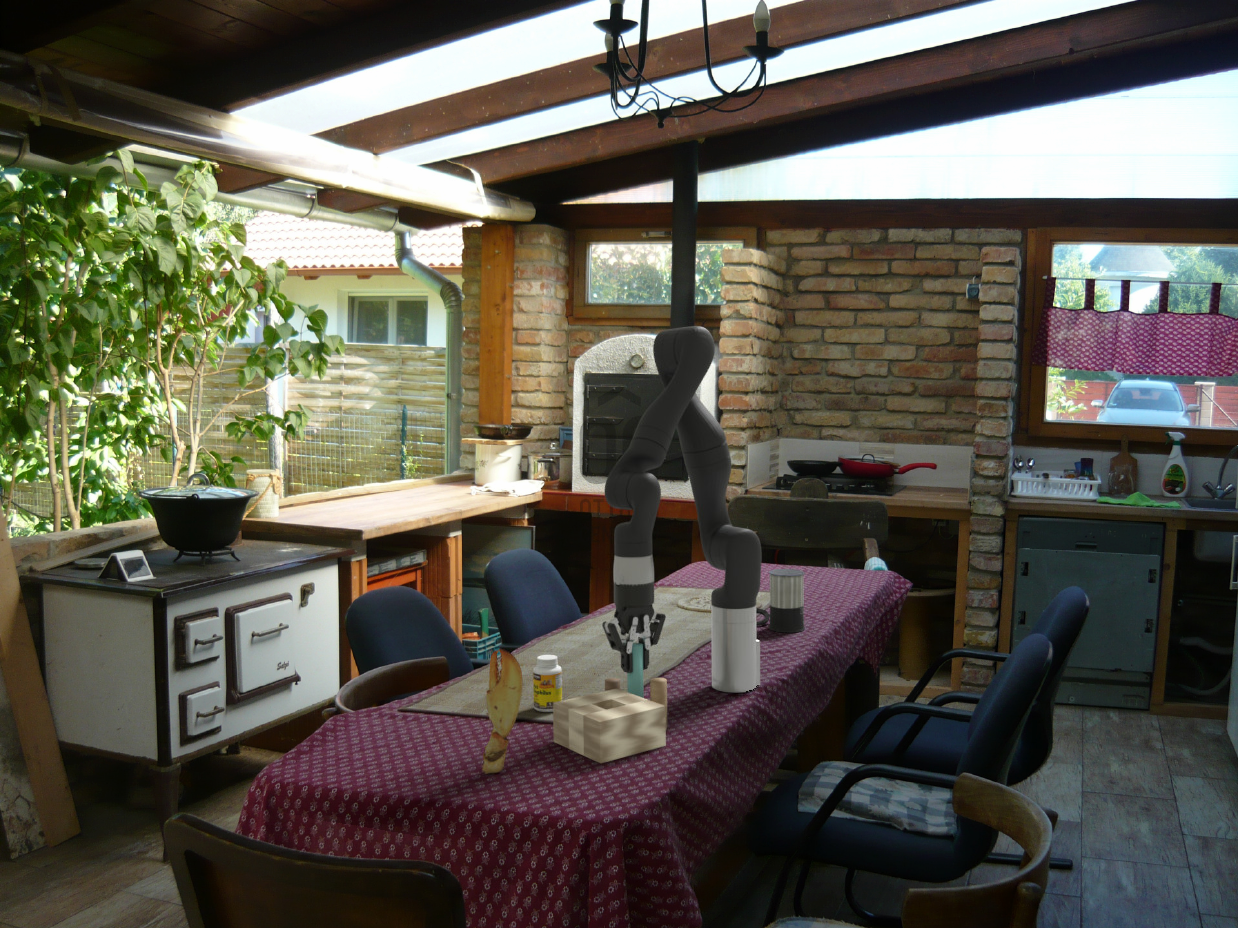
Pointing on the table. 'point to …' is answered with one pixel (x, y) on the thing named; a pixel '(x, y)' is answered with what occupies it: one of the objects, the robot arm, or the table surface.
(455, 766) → the table surface
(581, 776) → the table surface
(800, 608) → the milk frother
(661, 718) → the hole block
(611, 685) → the short pin
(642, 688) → the long pin
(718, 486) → the robot arm
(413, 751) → the table surface
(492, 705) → the crab claw
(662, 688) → the medium pin
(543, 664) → the supplement bottle
